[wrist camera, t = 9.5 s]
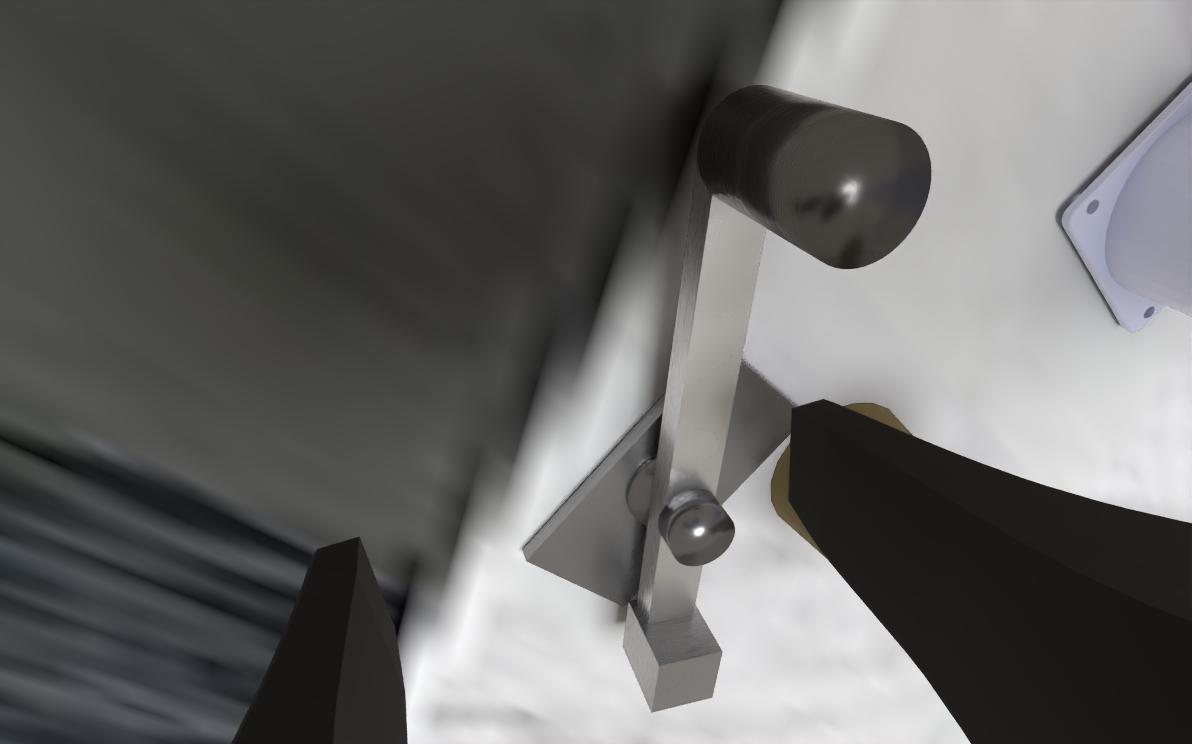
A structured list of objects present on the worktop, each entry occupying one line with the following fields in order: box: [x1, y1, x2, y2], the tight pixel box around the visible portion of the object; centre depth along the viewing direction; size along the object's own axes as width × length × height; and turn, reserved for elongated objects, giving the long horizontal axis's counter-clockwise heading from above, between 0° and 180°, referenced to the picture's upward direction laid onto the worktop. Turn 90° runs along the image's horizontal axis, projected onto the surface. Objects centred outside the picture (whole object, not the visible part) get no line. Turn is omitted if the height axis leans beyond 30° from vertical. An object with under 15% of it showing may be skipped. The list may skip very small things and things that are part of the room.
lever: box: [623, 85, 931, 713], centre depth 21 cm, size 21×3×6 cm, turn 176°
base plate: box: [522, 360, 797, 606], centre depth 26 cm, size 10×5×1 cm, turn 137°
